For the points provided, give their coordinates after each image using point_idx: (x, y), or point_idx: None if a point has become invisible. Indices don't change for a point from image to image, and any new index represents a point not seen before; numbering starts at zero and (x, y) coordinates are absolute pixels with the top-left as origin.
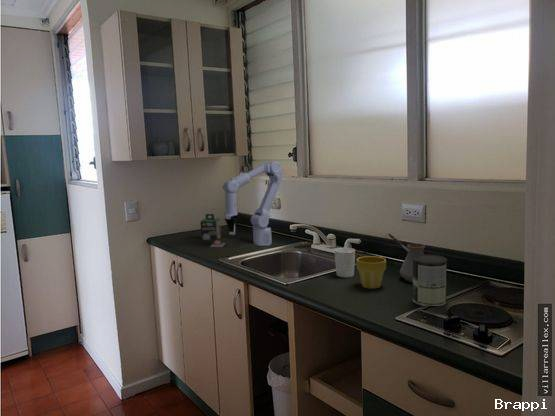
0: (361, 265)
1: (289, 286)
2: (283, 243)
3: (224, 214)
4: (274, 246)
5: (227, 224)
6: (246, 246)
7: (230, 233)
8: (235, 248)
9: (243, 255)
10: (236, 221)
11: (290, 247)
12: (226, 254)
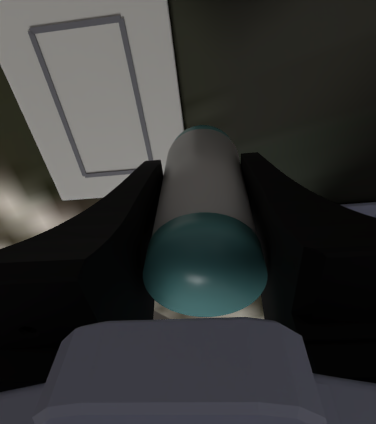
0: None
1: None
2: None
3: (68, 366)
4: (260, 301)
5: (82, 215)
6: None
7: (168, 154)
8: (201, 123)
9: (41, 223)
10: (264, 311)
11: None
12: (13, 120)
